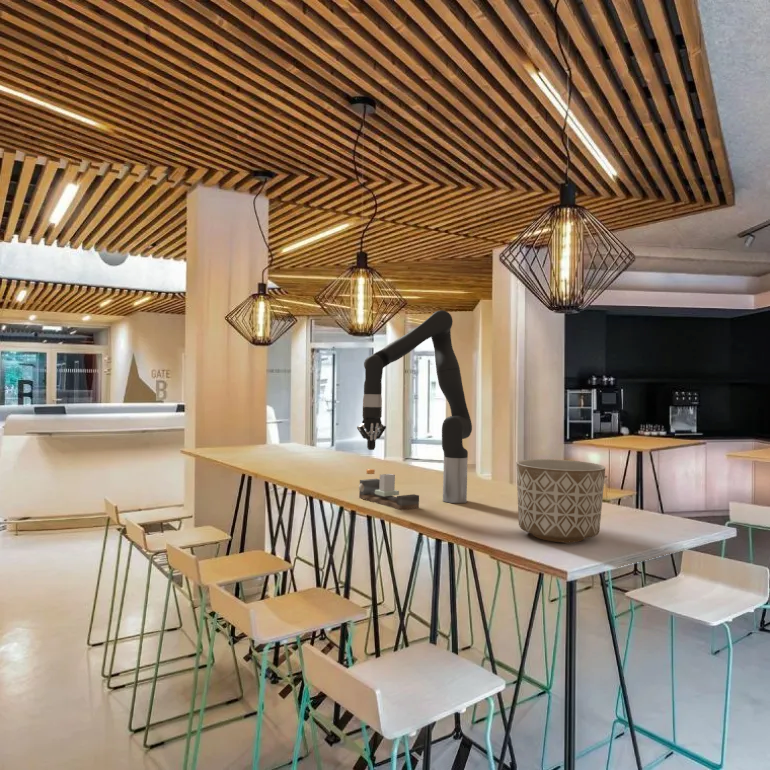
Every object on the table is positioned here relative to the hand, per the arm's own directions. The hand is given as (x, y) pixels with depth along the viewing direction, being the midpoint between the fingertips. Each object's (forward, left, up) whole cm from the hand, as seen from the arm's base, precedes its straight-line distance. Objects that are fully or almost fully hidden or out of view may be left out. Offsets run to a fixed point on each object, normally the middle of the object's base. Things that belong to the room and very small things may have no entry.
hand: (371, 449), depth 246 cm
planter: (-66, +47, -19) cm, 84 cm away
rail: (-8, +8, -19) cm, 22 cm away
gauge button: (0, 0, -9) cm, 9 cm away
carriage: (-8, +8, -16) cm, 19 cm away
